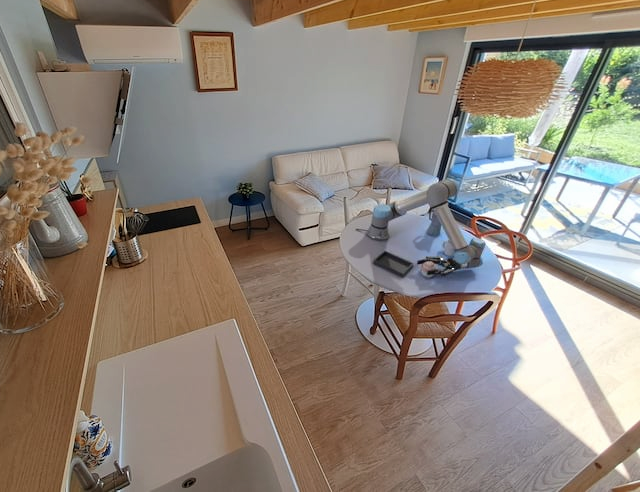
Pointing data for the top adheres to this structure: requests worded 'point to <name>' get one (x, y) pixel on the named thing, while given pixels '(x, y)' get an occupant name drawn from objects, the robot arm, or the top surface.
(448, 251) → the cup
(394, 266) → the baking tray
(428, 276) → the cupcake
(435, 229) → the moka pot
